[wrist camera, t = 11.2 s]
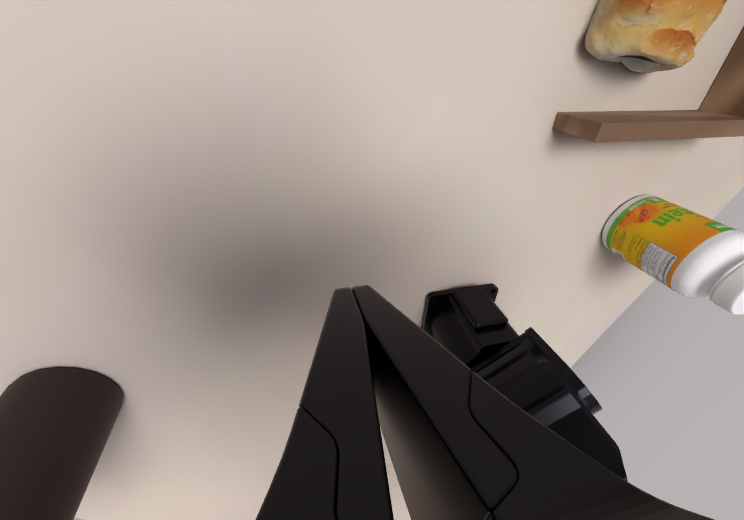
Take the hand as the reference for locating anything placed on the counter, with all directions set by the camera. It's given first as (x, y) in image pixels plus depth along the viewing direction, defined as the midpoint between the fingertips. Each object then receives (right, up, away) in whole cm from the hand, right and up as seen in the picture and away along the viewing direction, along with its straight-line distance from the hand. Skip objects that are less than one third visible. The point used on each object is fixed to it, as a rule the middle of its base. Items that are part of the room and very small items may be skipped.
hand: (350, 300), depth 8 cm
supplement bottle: (+23, +4, +20) cm, 31 cm away
